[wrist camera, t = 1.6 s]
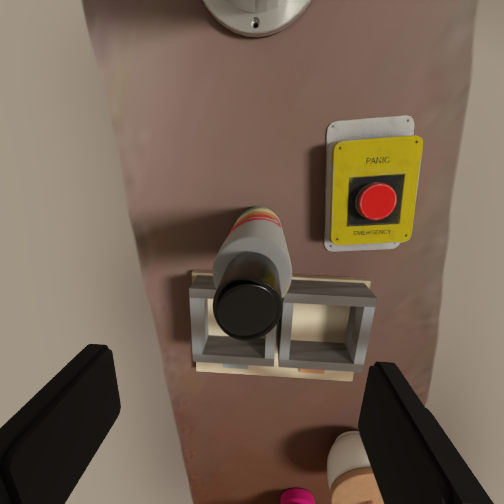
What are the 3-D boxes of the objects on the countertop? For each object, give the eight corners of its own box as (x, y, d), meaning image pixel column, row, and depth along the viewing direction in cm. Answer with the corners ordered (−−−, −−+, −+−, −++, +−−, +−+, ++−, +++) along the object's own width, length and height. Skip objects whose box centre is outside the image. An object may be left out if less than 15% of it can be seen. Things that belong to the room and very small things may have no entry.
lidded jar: (388, 462, 43) (420, 538, 34) (325, 469, 45) (339, 543, 36) (383, 415, 40) (416, 485, 31) (315, 424, 42) (328, 493, 33)
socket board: (193, 269, 34) (182, 285, 30) (368, 277, 33) (384, 296, 29) (198, 366, 39) (188, 393, 35) (349, 376, 38) (361, 405, 34)
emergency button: (331, 262, 29) (335, 114, 24) (323, 250, 33) (325, 122, 28) (416, 258, 28) (438, 106, 24) (397, 247, 32) (412, 115, 28)
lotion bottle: (244, 199, 31) (208, 246, 12) (288, 214, 31) (320, 284, 12) (230, 241, 33) (180, 340, 14) (272, 255, 33) (278, 372, 14)
